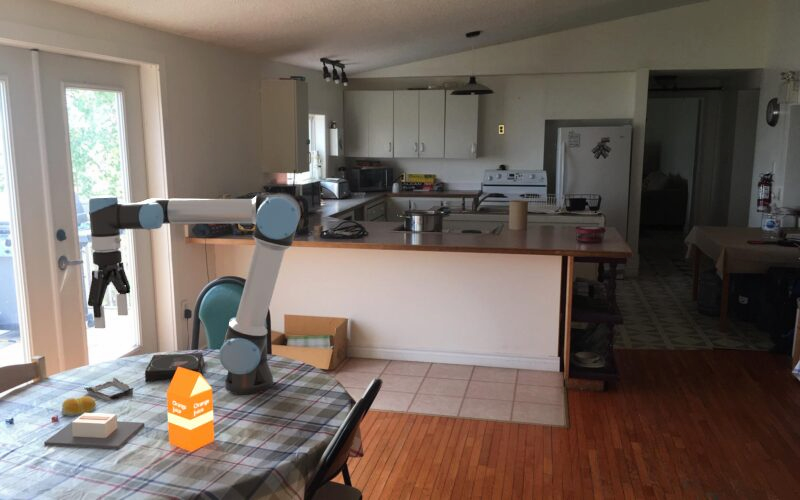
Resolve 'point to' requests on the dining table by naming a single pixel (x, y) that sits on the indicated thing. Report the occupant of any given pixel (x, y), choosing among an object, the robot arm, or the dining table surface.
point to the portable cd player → (172, 365)
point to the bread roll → (78, 406)
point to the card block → (94, 425)
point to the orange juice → (190, 410)
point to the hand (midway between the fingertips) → (111, 321)
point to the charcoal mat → (112, 441)
